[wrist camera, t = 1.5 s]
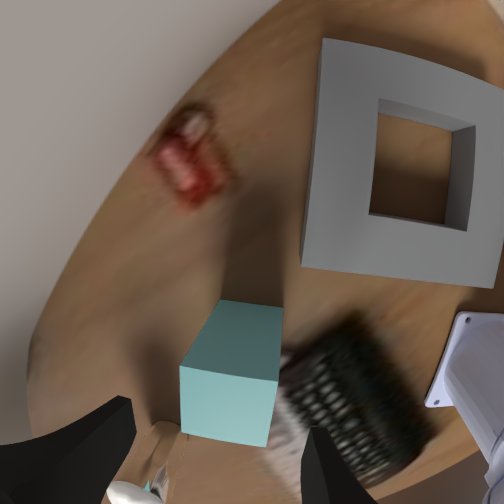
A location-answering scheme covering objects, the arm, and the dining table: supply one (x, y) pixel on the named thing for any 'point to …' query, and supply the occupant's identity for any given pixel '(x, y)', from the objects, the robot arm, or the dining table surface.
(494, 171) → the socket block
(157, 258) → the dining table surface
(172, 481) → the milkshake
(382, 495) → the dining table surface
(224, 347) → the peg
